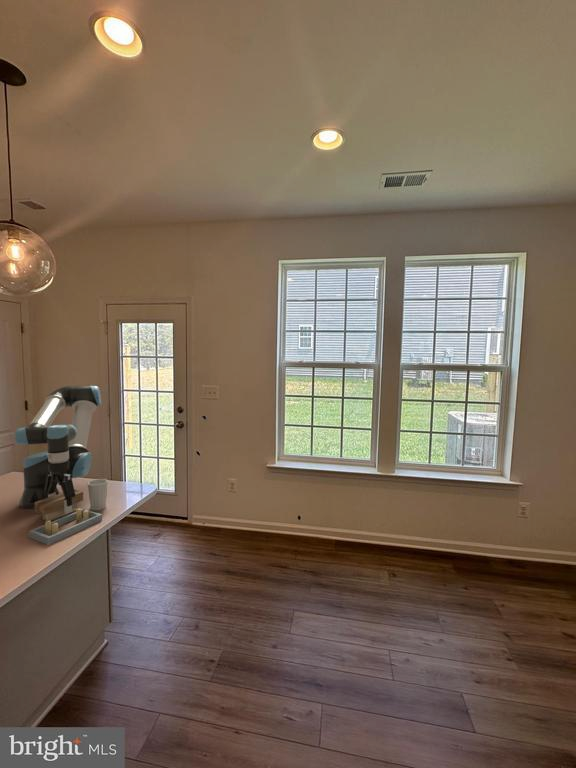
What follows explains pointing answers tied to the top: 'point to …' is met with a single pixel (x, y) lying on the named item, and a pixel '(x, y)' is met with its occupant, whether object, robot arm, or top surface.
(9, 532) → the top surface
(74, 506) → the block
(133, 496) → the top surface
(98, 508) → the cup
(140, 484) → the top surface
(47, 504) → the board
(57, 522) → the frame
